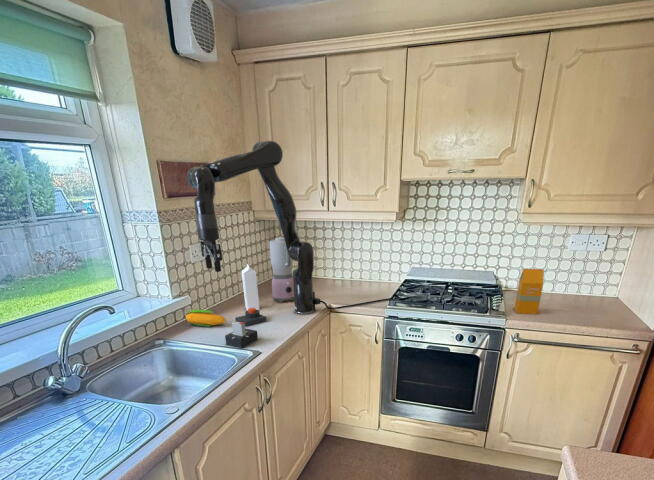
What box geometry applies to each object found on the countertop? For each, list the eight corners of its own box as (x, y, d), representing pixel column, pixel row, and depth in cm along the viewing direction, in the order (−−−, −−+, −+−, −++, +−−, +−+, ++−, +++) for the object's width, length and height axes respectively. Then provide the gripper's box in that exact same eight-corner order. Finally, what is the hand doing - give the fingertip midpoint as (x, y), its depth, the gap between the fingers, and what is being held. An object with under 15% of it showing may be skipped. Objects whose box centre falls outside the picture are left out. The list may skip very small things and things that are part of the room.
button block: (256, 316, 193) (255, 308, 191) (266, 321, 187) (265, 313, 185) (235, 322, 187) (234, 313, 185) (245, 326, 180) (244, 318, 179)
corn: (190, 305, 185) (229, 308, 180) (193, 320, 189) (231, 324, 183) (180, 311, 179) (220, 314, 173) (184, 327, 182) (223, 330, 177)
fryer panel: (242, 336, 169) (241, 327, 167) (260, 340, 165) (259, 330, 163) (223, 346, 160) (222, 336, 158) (242, 350, 156) (241, 340, 154)
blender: (269, 298, 221) (264, 237, 208) (289, 295, 227) (286, 235, 213) (281, 305, 209) (276, 241, 195) (302, 302, 214) (299, 239, 201)
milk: (257, 306, 208) (253, 263, 199) (259, 309, 203) (255, 265, 194) (245, 308, 206) (240, 264, 197) (247, 311, 201) (242, 266, 192)
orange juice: (537, 314, 190) (546, 271, 181) (517, 313, 191) (524, 270, 183) (533, 309, 197) (541, 267, 188) (514, 308, 198) (521, 267, 190)
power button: (253, 310, 190) (253, 307, 189) (257, 312, 187) (257, 308, 186) (247, 312, 187) (246, 308, 187) (251, 314, 185) (250, 310, 184)
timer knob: (233, 334, 160) (232, 322, 158) (236, 333, 161) (235, 320, 159) (242, 336, 158) (241, 323, 156) (245, 335, 159) (244, 322, 157)
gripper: (224, 227, 149) (230, 271, 156) (209, 224, 159) (215, 266, 166) (205, 228, 145) (211, 274, 152) (190, 225, 155) (197, 268, 162)
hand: (213, 269), depth 159 cm, fingers open, 8 cm apart
